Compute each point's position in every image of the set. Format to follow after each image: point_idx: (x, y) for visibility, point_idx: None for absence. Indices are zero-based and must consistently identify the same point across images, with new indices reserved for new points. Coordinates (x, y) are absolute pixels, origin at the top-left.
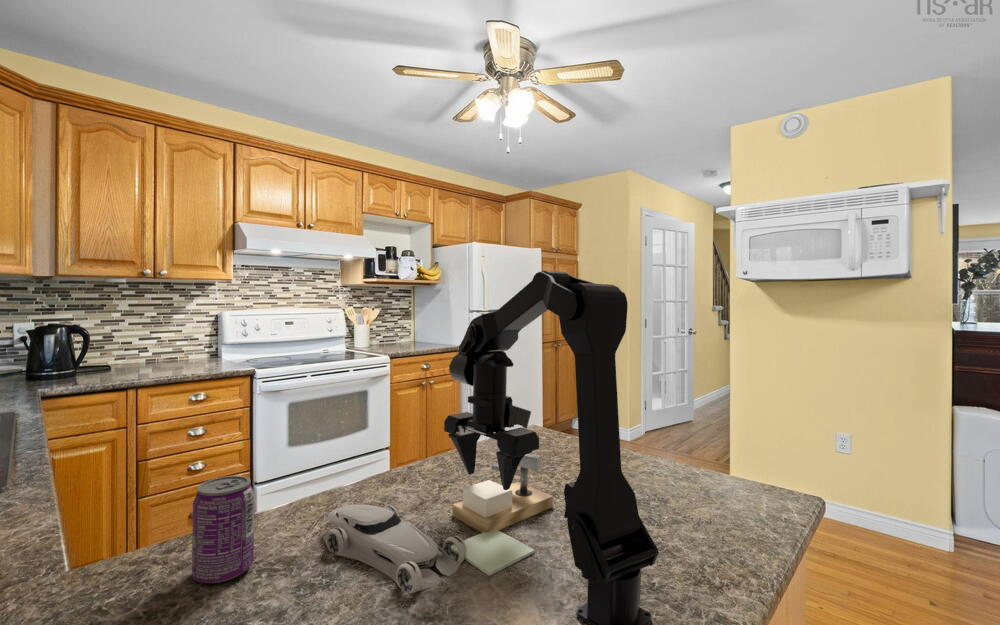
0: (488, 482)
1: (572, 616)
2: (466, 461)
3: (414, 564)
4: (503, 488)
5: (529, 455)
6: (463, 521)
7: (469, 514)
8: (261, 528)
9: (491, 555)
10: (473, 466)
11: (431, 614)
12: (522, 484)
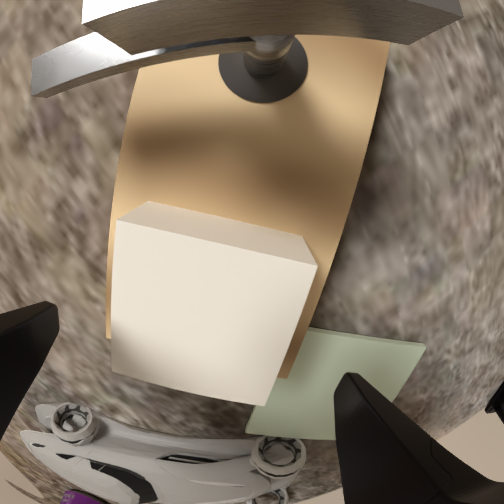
0: (138, 253)
1: (479, 410)
2: (21, 391)
3: None
4: (336, 402)
5: None
6: None
7: None
8: (13, 445)
9: None
10: (36, 330)
11: (325, 492)
12: (268, 66)
